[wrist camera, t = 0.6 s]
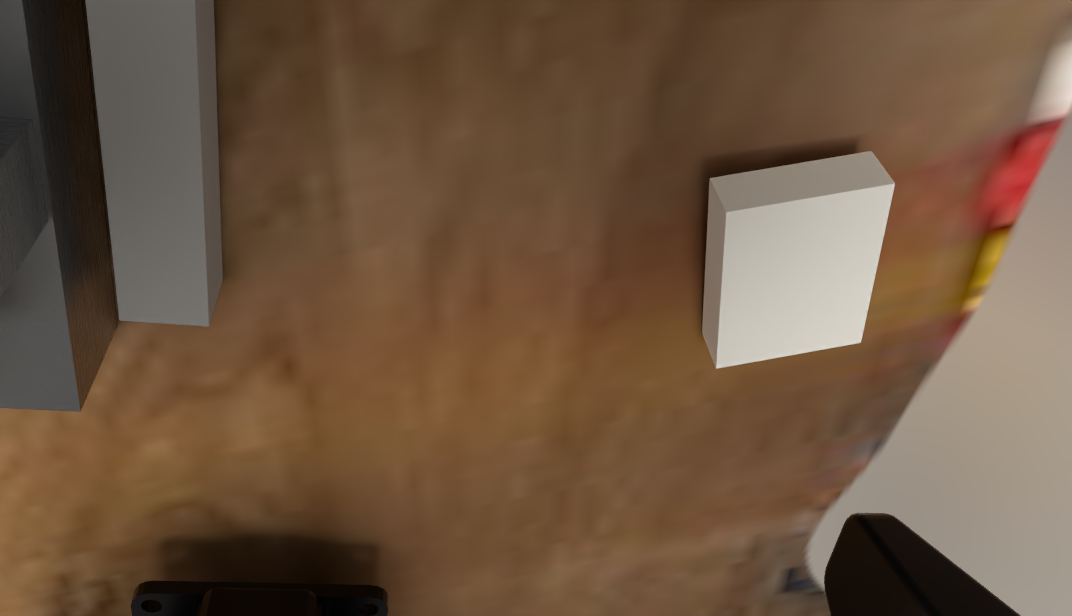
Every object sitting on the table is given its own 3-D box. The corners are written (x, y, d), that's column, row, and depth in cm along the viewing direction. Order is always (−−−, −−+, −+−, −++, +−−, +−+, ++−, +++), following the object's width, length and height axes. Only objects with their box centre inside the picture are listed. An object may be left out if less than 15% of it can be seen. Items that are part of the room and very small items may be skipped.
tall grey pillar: (222, 279, 22) (208, 326, 21) (139, 274, 22) (119, 320, 20) (211, -88, 18) (192, -63, 16) (106, -102, 17) (77, -77, 16)
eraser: (715, 370, 23) (862, 342, 24) (725, 213, 20) (896, 182, 20) (701, 334, 24) (842, 308, 25) (707, 178, 21) (871, 149, 21)
